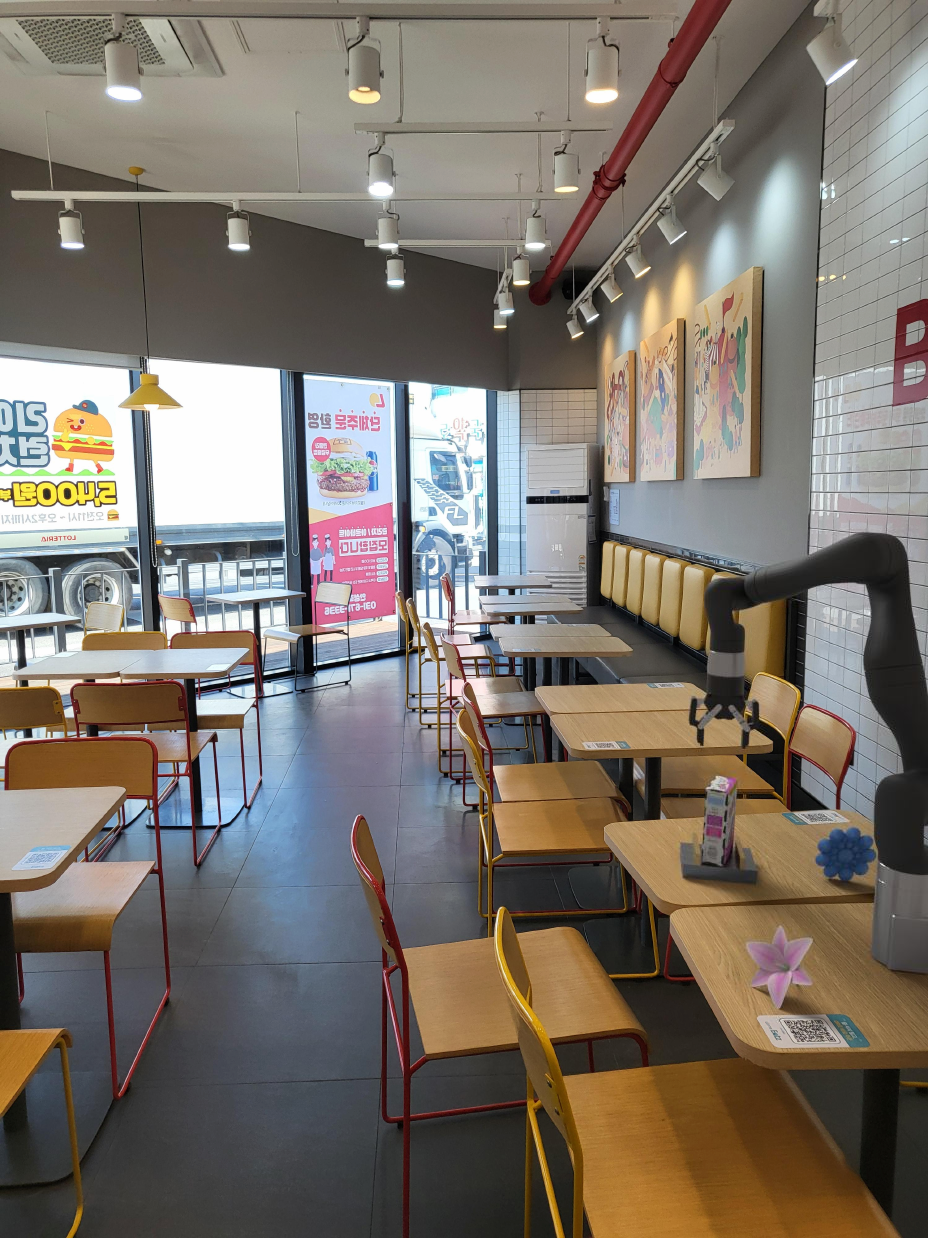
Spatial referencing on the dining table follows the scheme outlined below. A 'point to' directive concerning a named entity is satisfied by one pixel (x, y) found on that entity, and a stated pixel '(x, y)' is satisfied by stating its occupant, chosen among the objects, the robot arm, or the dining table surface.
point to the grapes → (845, 854)
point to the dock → (734, 870)
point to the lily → (779, 964)
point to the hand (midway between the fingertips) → (722, 746)
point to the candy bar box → (719, 820)
